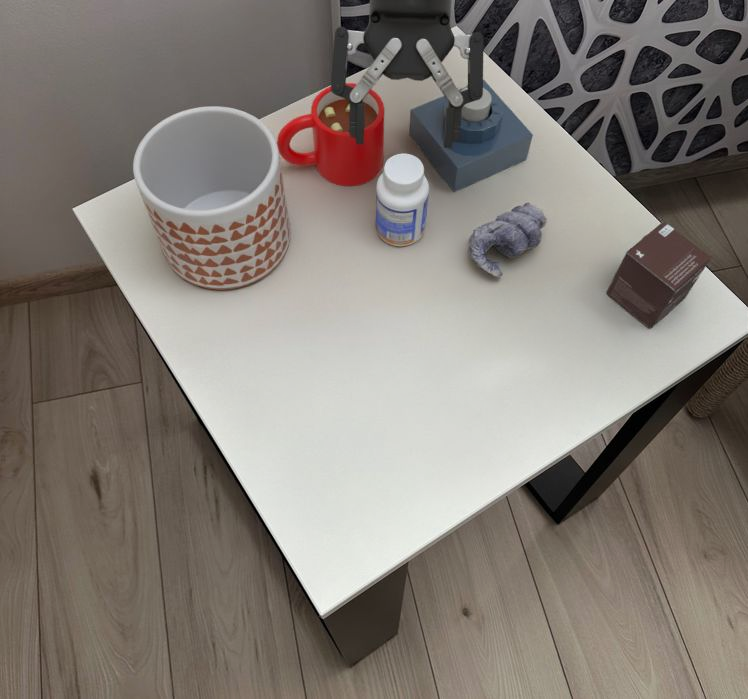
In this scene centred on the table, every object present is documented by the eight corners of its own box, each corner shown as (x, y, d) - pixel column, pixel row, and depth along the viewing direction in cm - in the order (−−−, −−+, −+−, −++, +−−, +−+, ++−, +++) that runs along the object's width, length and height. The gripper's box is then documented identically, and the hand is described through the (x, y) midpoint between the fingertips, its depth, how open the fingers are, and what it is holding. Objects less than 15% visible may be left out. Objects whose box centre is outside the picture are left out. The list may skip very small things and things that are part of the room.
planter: (295, 191, 87) (284, 106, 75) (284, 294, 80) (271, 216, 69) (174, 188, 87) (145, 102, 76) (153, 290, 80) (119, 212, 69)
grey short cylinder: (477, 95, 86) (479, 81, 85) (495, 116, 85) (498, 101, 83) (450, 106, 86) (452, 92, 84) (468, 127, 84) (470, 113, 82)
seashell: (477, 285, 82) (534, 232, 86) (508, 280, 78) (567, 225, 81) (451, 244, 81) (510, 192, 85) (481, 236, 76) (542, 182, 80)
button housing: (479, 105, 93) (486, 65, 88) (526, 159, 89) (536, 121, 84) (408, 134, 91) (411, 95, 86) (453, 192, 87) (459, 155, 82)
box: (649, 331, 78) (674, 291, 72) (603, 293, 80) (624, 252, 74) (686, 298, 80) (714, 256, 74) (641, 262, 82) (664, 219, 76)
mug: (273, 149, 90) (266, 97, 83) (372, 128, 91) (373, 76, 84) (288, 200, 86) (282, 150, 79) (391, 177, 88) (393, 127, 81)
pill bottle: (399, 200, 86) (403, 138, 78) (435, 228, 84) (442, 167, 76) (365, 227, 84) (364, 166, 76) (400, 256, 82) (404, 197, 74)
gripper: (331, -50, 66) (327, 144, 71) (495, -44, 66) (481, 150, 71) (336, -33, 74) (333, 142, 78) (485, -28, 73) (473, 148, 78)
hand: (404, 146), depth 75 cm, fingers open, 8 cm apart
